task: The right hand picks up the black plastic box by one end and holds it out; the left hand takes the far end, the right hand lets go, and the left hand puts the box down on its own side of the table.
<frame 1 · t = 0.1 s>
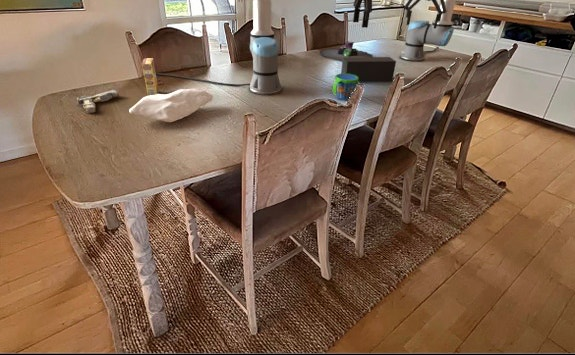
left hand: (359, 24, 182), 28 cm above the table, tool pointing down, fingers open, 13 cm apart
right hand: (421, 26, 184), 28 cm above the table, tool pointing down, fingers open, 13 cm apart
box: (366, 79, 198), on the table
grey round platform: (345, 55, 241), on the table
crumpled cloth: (172, 113, 149), on the table
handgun: (101, 103, 156), on the table
snack cup: (344, 98, 172), on the table
candy box: (153, 94, 167), on the table
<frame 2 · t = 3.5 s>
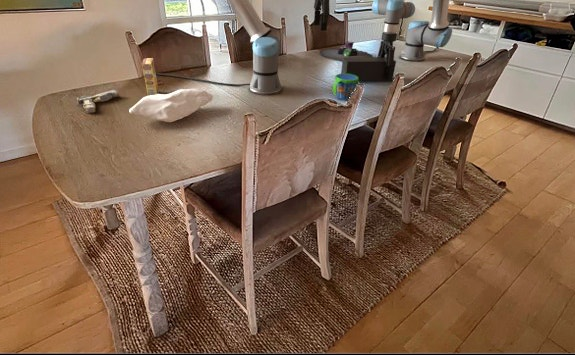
left hand: (319, 27, 174), 28 cm above the table, tool pointing down, fingers open, 13 cm apart
right hand: (382, 76, 199), 2 cm above the table, tool pointing down, fingers closed on box, 9 cm apart
box: (366, 79, 198), on the table, touching right hand
everything else where it was.
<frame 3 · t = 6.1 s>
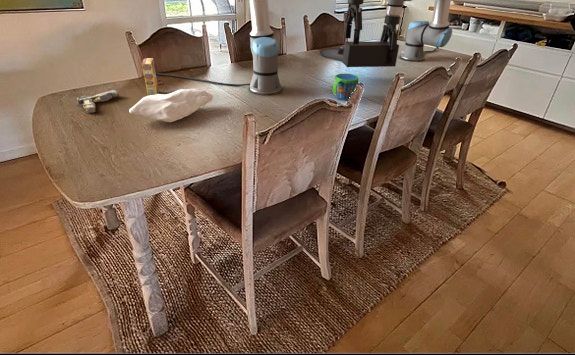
left hand: (351, 41, 185), 20 cm above the table, tool pointing down, fingers open, 13 cm apart
right hand: (385, 60, 194), 10 cm above the table, tool pointing down, fingers closed on box, 9 cm apart
box: (368, 64, 194), point 8 cm above the table, touching right hand
everything else where it was.
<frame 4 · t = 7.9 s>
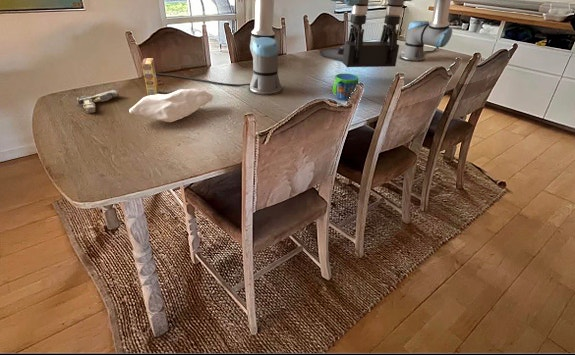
left hand: (352, 61, 191), 10 cm above the table, tool pointing down, fingers closed on box, 9 cm apart
right hand: (385, 60, 194), 10 cm above the table, tool pointing down, fingers closed on box, 9 cm apart
box: (368, 64, 194), point 8 cm above the table, touching left hand, right hand
everything else where it was.
when the right hand's fingers open (10 cm above the table, at t = 8.9 s): box stays where it is, held by the left hand.
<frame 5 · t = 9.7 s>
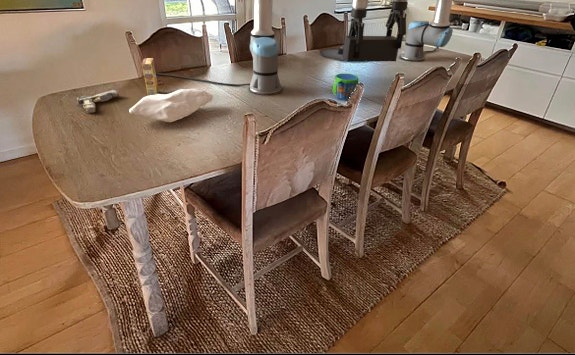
left hand: (353, 55, 190), 13 cm above the table, tool pointing down, fingers closed on box, 9 cm apart
right hand: (392, 45, 191), 18 cm above the table, tool pointing down, fingers open, 13 cm apart
box: (369, 59, 192), point 11 cm above the table, touching left hand
everything else where it was.
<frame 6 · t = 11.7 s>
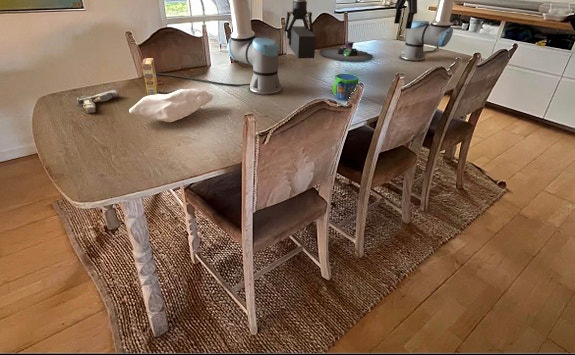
left hand: (297, 44, 206), 13 cm above the table, tool pointing down, fingers closed on box, 9 cm apart
right hand: (402, 26, 186), 27 cm above the table, tool pointing down, fingers open, 13 cm apart
box: (300, 52, 199), point 11 cm above the table, touching left hand
everything else where it was.
when the left hand's fingers open (3 cm above the table, at t = 13.4 s): box drops 2 cm, on the table.
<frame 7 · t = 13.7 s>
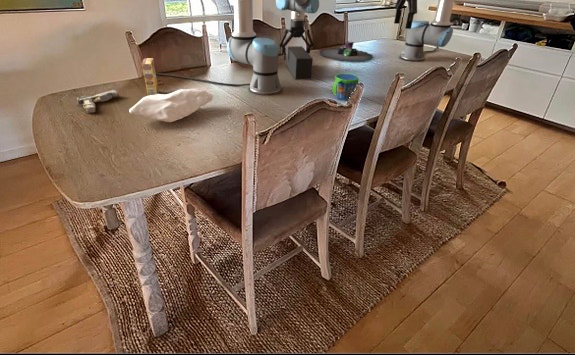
left hand: (295, 59, 211), 5 cm above the table, tool pointing down, fingers open, 13 cm apart
right hand: (402, 26, 186), 27 cm above the table, tool pointing down, fingers open, 13 cm apart
box: (298, 71, 206), on the table
everything else where it was.
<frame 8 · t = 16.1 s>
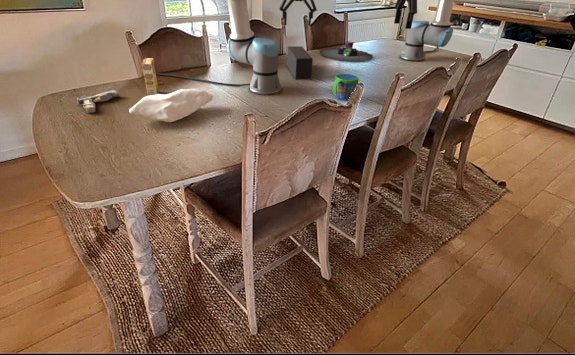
left hand: (297, 24, 200), 23 cm above the table, tool pointing down, fingers open, 13 cm apart
right hand: (402, 26, 186), 27 cm above the table, tool pointing down, fingers open, 13 cm apart
nothing on the table moved.
at the end: box inside the target area (9.0 cm from its centre), on the table; the left hand is holding nothing; the right hand is holding nothing; box at rest at the end (0.0 cm/s) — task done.
